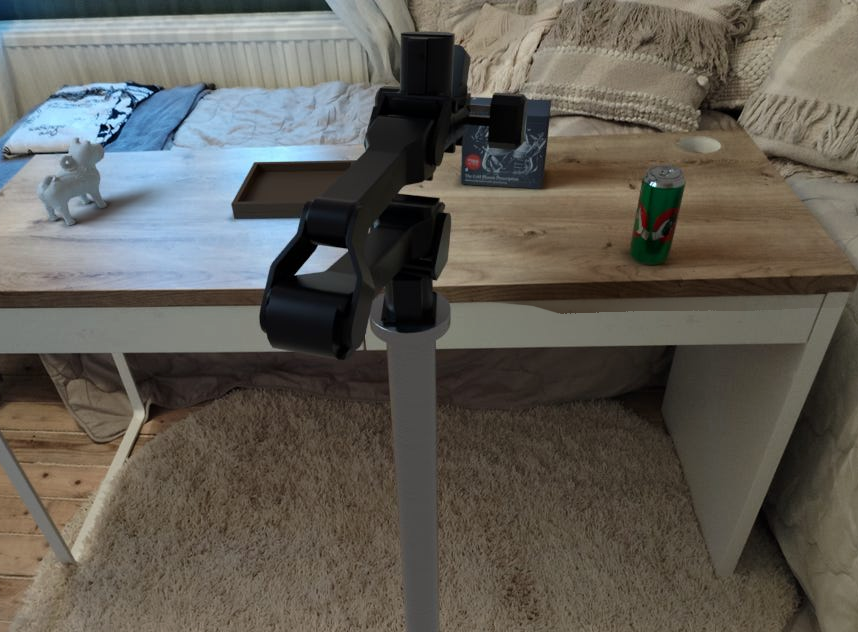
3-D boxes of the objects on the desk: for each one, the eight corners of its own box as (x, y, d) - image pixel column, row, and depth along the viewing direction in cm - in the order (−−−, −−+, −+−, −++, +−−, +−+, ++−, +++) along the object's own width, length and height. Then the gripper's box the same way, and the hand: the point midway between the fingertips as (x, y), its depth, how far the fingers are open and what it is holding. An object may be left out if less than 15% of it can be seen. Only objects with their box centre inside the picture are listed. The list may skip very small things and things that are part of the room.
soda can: (672, 252, 94) (692, 167, 87) (662, 270, 91) (681, 184, 84) (635, 244, 97) (650, 160, 89) (623, 261, 93) (638, 176, 86)
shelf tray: (346, 217, 108) (344, 202, 106) (234, 218, 109) (231, 203, 108) (357, 174, 120) (356, 160, 118) (256, 175, 121) (254, 162, 120)
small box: (459, 185, 114) (460, 111, 106) (465, 168, 119) (467, 96, 112) (542, 190, 111) (549, 114, 104) (545, 171, 116) (552, 98, 109)
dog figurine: (125, 195, 118) (106, 133, 112) (66, 229, 110) (42, 164, 103) (102, 190, 120) (83, 129, 114) (43, 223, 112) (17, 158, 105)
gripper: (519, 56, 75) (543, 43, 87) (355, 49, 80) (400, 37, 93) (509, 162, 80) (533, 135, 93) (357, 149, 86) (399, 125, 98)
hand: (465, 106), depth 94 cm, fingers open, 9 cm apart
